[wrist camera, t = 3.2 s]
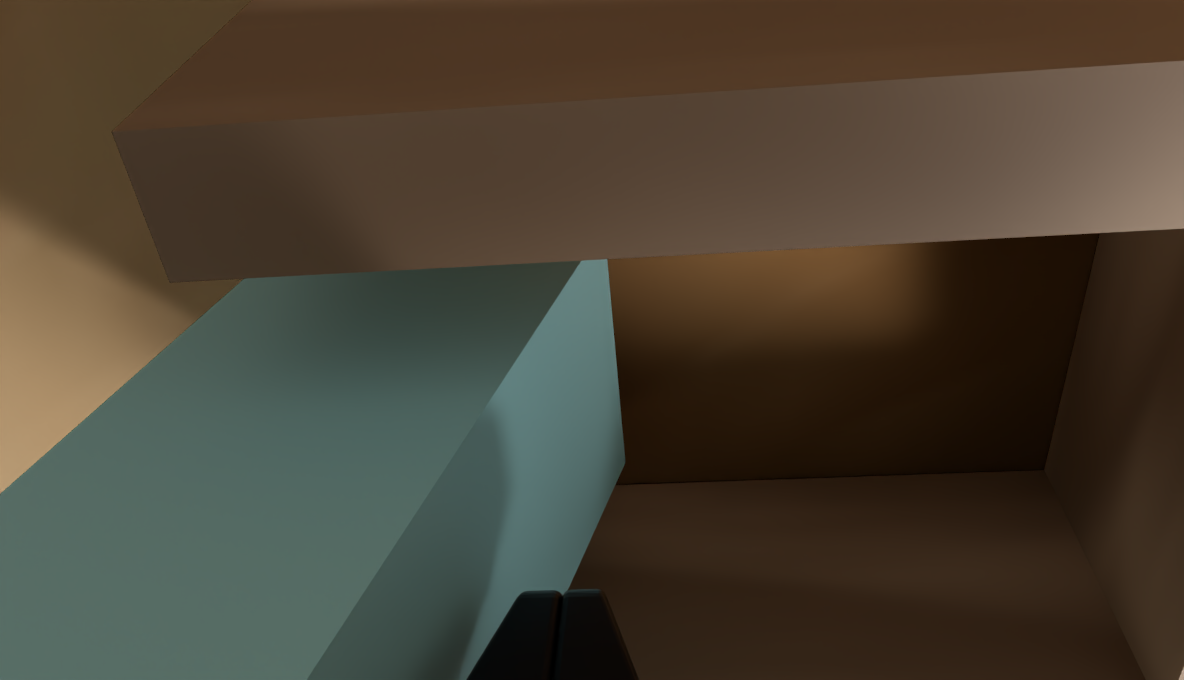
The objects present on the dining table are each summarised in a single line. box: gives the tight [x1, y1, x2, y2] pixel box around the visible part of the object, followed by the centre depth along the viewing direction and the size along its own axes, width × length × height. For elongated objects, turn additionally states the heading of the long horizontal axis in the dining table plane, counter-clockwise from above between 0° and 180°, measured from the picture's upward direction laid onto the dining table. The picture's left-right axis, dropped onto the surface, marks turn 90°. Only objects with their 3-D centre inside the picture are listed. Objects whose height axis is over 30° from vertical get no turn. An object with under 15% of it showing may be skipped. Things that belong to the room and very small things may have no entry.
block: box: [0, 259, 625, 680], centre depth 11 cm, size 4×4×8 cm
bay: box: [112, 0, 1184, 680], centre depth 13 cm, size 10×12×4 cm
